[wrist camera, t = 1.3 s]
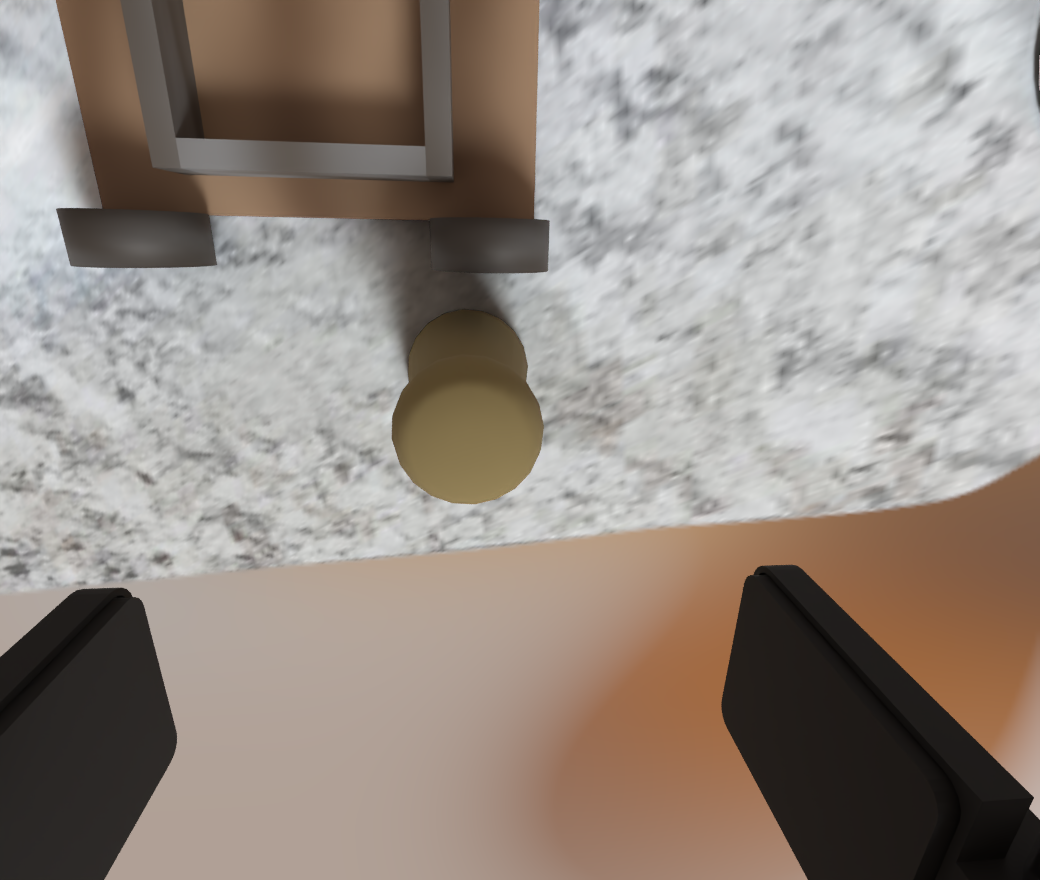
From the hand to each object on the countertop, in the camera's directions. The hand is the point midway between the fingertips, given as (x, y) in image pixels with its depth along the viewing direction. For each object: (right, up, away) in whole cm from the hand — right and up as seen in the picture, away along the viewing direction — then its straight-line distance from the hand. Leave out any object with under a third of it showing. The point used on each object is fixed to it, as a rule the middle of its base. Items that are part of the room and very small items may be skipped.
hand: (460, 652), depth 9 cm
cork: (-2, +7, +19) cm, 20 cm away
